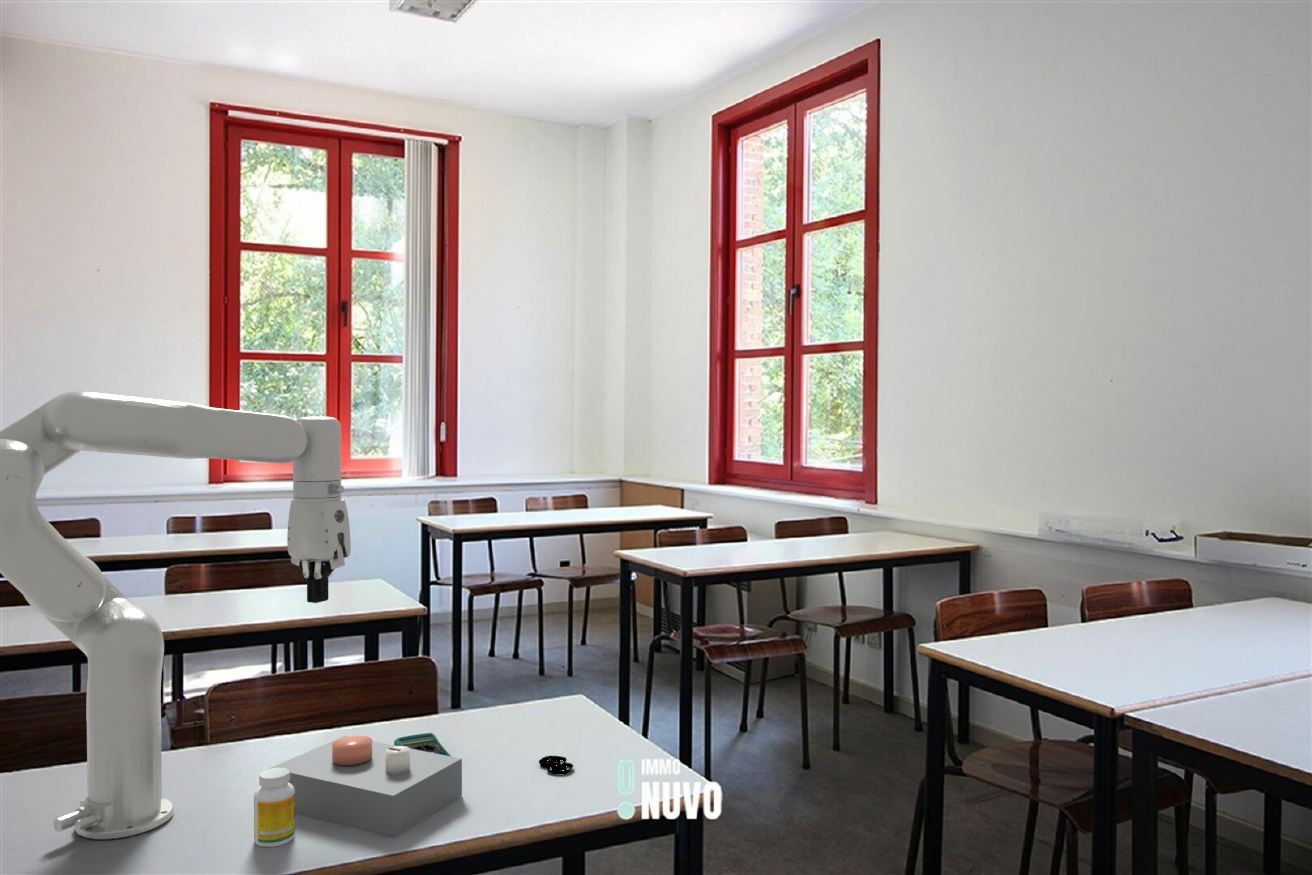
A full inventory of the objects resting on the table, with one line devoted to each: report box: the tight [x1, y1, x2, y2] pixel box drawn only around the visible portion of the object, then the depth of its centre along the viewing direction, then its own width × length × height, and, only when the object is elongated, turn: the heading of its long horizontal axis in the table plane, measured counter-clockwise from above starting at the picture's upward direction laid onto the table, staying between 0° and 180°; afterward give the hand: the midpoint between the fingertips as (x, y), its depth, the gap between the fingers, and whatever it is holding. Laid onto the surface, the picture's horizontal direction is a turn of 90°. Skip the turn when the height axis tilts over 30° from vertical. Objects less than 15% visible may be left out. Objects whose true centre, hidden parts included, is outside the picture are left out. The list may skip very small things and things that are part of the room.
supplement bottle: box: [253, 768, 296, 848], centre depth 133 cm, size 5×5×10 cm
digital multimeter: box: [393, 732, 453, 757], centre depth 164 cm, size 7×15×3 cm, turn 27°
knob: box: [386, 746, 410, 774], centre depth 144 cm, size 4×4×3 cm
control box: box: [269, 735, 463, 838], centre depth 147 cm, size 16×24×6 cm, turn 65°
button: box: [332, 735, 373, 765], centre depth 148 cm, size 6×6×5 cm
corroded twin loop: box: [538, 755, 574, 775], centre depth 161 cm, size 5×8×1 cm, turn 28°
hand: (317, 601), depth 157 cm, fingers closed
